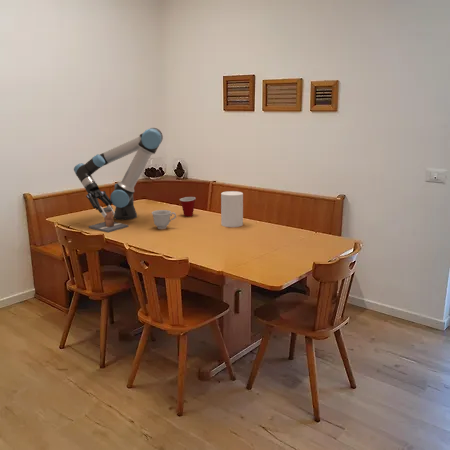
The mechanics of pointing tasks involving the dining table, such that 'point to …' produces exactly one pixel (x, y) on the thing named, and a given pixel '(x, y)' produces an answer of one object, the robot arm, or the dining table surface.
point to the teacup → (162, 218)
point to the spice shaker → (108, 217)
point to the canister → (232, 209)
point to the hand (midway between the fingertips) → (109, 215)
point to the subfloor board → (108, 229)
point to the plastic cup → (188, 205)
